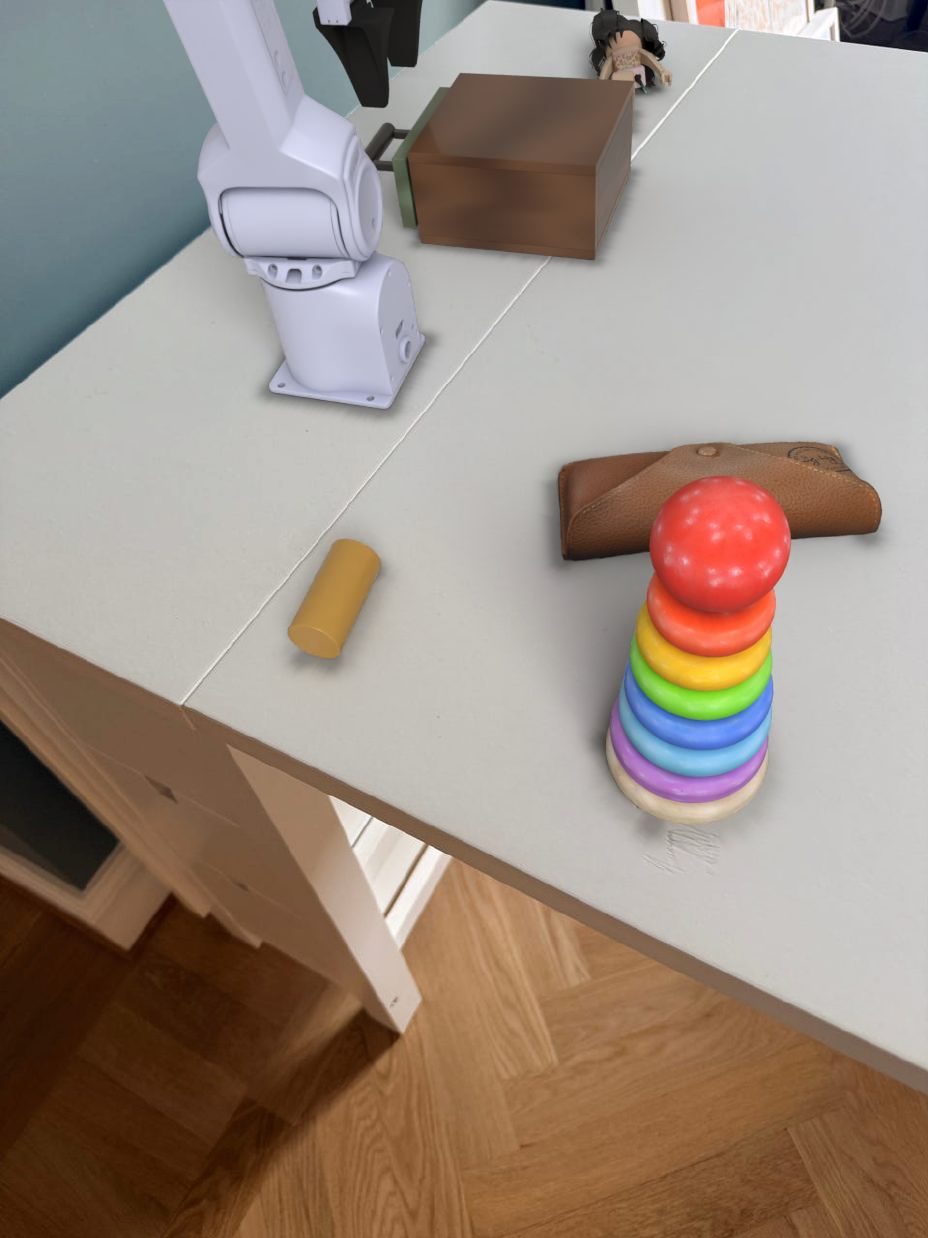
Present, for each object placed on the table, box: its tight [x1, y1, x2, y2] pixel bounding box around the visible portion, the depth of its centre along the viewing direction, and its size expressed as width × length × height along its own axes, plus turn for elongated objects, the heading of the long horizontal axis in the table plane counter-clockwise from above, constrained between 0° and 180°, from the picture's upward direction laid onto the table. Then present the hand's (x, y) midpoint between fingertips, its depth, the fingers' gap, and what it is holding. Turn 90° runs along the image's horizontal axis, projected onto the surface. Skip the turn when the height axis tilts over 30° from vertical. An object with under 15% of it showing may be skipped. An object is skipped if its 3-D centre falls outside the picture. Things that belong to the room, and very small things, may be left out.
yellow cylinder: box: [287, 538, 382, 660], centre depth 54 cm, size 3×6×3 cm, turn 161°
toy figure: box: [588, 7, 673, 130], centre depth 85 cm, size 7×6×15 cm
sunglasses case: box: [557, 441, 883, 562], centre depth 55 cm, size 18×7×7 cm
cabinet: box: [407, 72, 635, 261], centre depth 75 cm, size 15×13×8 cm
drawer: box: [364, 86, 451, 229], centre depth 76 cm, size 18×11×6 cm, turn 71°
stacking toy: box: [605, 476, 792, 825], centre depth 40 cm, size 8×8×19 cm
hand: (389, 84), depth 73 cm, fingers open, 6 cm apart
